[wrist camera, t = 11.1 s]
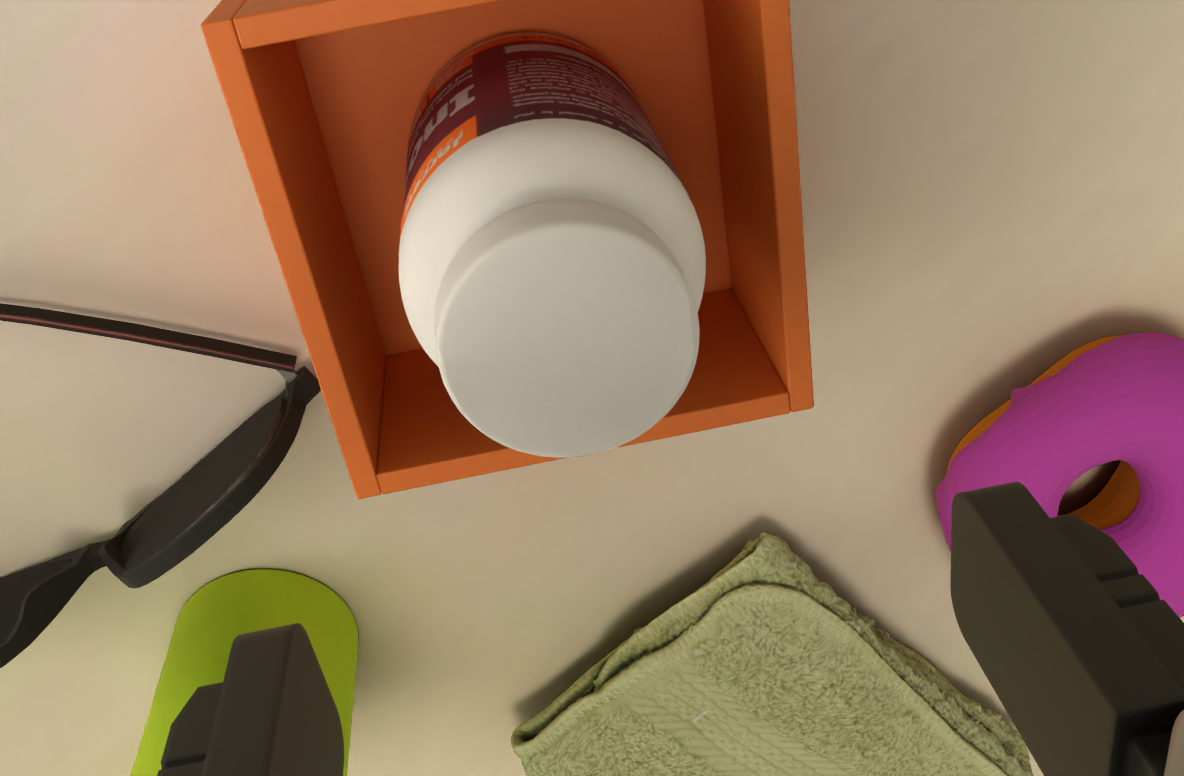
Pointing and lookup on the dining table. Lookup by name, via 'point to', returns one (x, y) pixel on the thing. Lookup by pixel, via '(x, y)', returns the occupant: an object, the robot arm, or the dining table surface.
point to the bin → (377, 184)
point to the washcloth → (766, 693)
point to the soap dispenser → (241, 610)
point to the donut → (1095, 448)
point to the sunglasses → (182, 513)
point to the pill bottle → (548, 248)
